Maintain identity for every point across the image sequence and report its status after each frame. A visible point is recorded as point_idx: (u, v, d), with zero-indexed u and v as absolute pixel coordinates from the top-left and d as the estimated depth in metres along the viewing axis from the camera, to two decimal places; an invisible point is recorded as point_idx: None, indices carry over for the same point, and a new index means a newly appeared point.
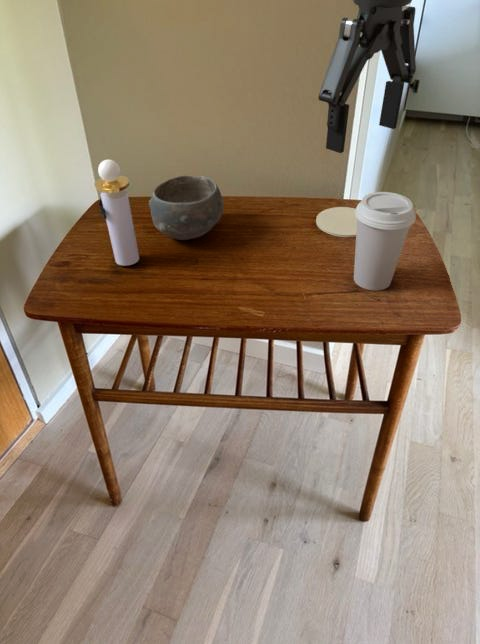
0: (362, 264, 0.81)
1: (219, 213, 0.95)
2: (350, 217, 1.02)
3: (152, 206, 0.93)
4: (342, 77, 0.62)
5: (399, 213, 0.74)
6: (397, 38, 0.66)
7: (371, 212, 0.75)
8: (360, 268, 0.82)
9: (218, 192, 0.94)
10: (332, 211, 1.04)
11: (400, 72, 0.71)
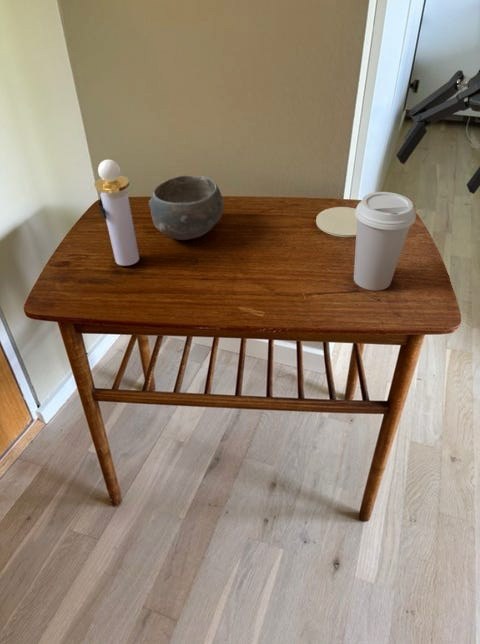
0: (362, 264, 0.81)
1: (219, 213, 0.95)
2: (350, 217, 1.02)
3: (152, 206, 0.93)
4: (426, 100, 0.82)
5: (399, 213, 0.74)
6: None
7: (371, 212, 0.75)
8: (360, 268, 0.82)
9: (218, 192, 0.94)
10: (332, 211, 1.04)
11: None
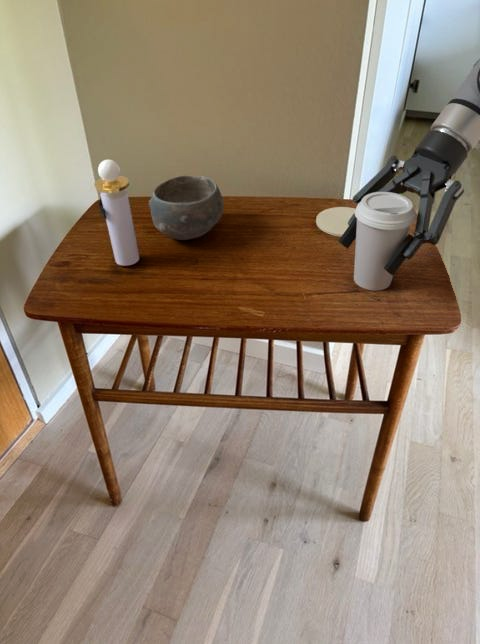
0: (362, 264, 0.81)
1: (219, 213, 0.95)
2: (350, 217, 1.02)
3: (152, 206, 0.93)
4: (367, 186, 0.83)
5: (399, 213, 0.74)
6: (424, 185, 0.76)
7: (371, 212, 0.75)
8: (360, 268, 0.82)
9: (218, 192, 0.94)
10: (332, 211, 1.04)
11: (416, 223, 0.76)
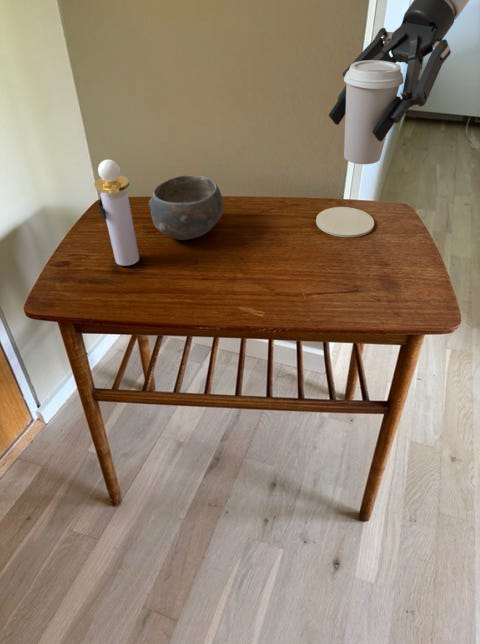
0: (351, 134, 0.83)
1: (219, 213, 0.95)
2: (350, 217, 1.02)
3: (152, 206, 0.93)
4: (356, 60, 0.84)
5: (387, 71, 0.75)
6: (412, 48, 0.78)
7: (359, 72, 0.76)
8: (350, 140, 0.84)
9: (218, 192, 0.94)
10: (332, 211, 1.04)
11: (404, 85, 0.77)
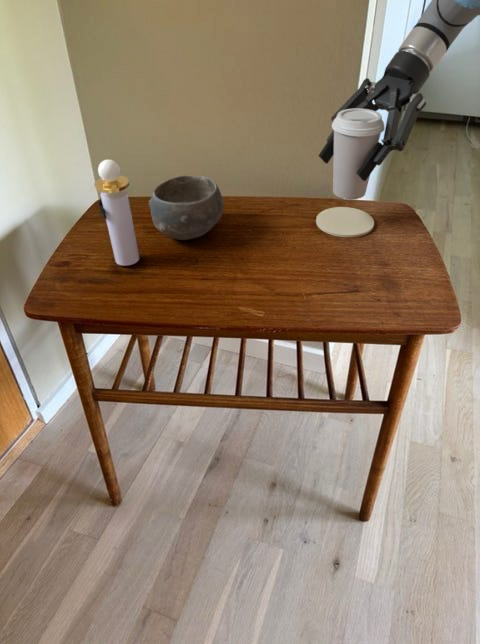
0: (339, 174, 0.93)
1: (219, 213, 0.95)
2: (350, 217, 1.02)
3: (152, 206, 0.93)
4: (343, 107, 0.94)
5: (369, 121, 0.85)
6: (392, 99, 0.87)
7: (344, 122, 0.86)
8: (337, 178, 0.93)
9: (218, 192, 0.94)
10: (332, 211, 1.04)
11: (385, 132, 0.87)
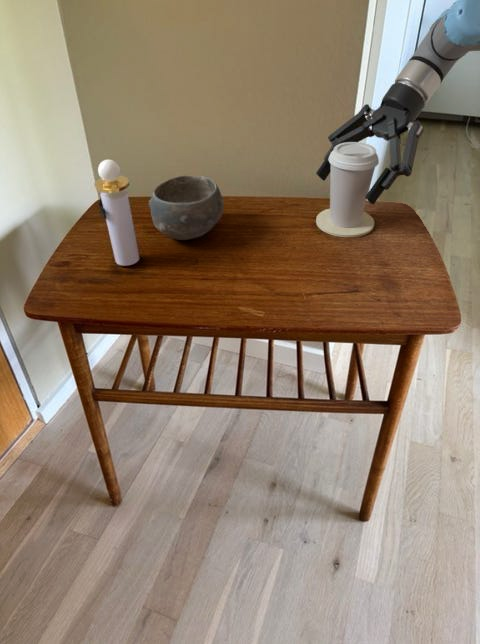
0: (335, 204, 0.97)
1: (219, 213, 0.95)
2: None
3: (152, 206, 0.93)
4: (341, 128, 0.98)
5: (364, 156, 0.89)
6: (391, 128, 0.91)
7: (341, 156, 0.90)
8: (334, 208, 0.98)
9: (218, 192, 0.94)
10: None
11: (390, 159, 0.90)
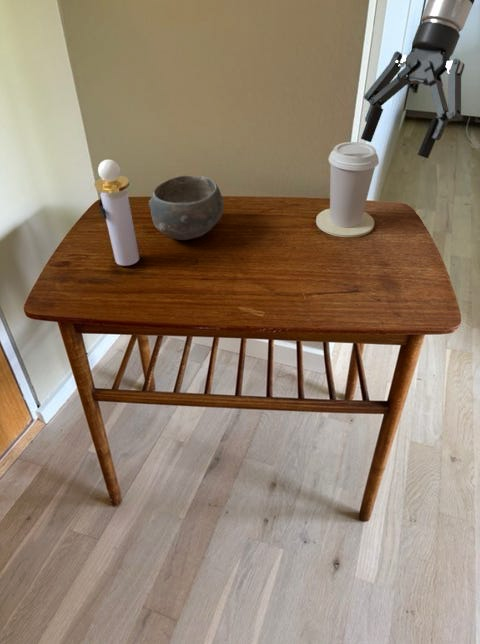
0: (335, 204, 0.97)
1: (219, 213, 0.95)
2: None
3: (152, 206, 0.93)
4: (375, 84, 0.95)
5: (364, 156, 0.89)
6: (428, 74, 0.87)
7: (341, 156, 0.90)
8: (334, 208, 0.98)
9: (218, 192, 0.94)
10: None
11: None
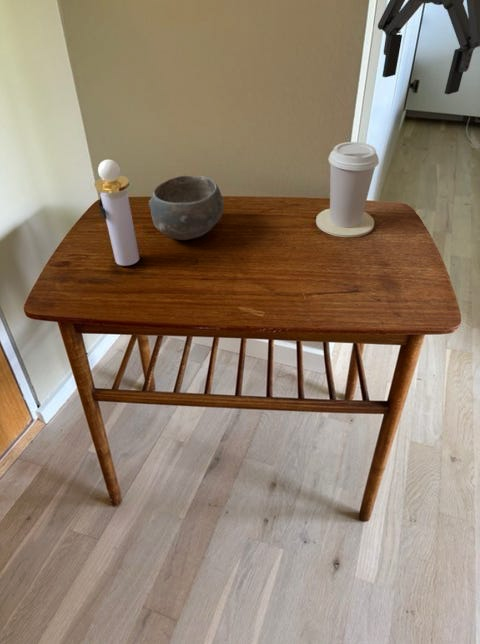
0: (335, 204, 0.97)
1: (219, 213, 0.95)
2: None
3: (152, 206, 0.93)
4: (387, 10, 0.83)
5: (364, 156, 0.89)
6: None
7: (341, 156, 0.90)
8: (334, 208, 0.98)
9: (218, 192, 0.94)
10: None
11: (457, 36, 0.75)
